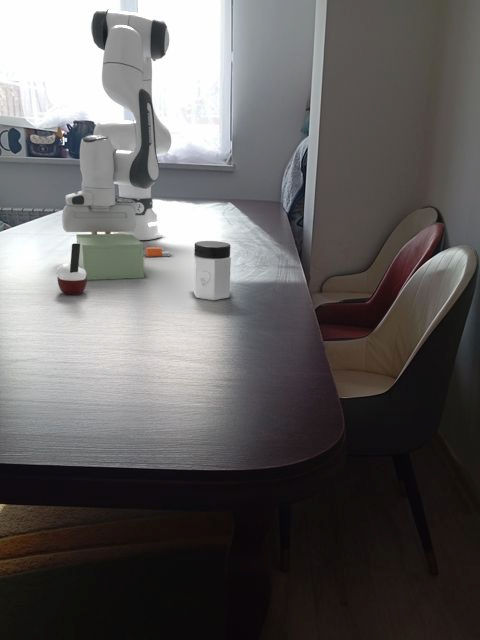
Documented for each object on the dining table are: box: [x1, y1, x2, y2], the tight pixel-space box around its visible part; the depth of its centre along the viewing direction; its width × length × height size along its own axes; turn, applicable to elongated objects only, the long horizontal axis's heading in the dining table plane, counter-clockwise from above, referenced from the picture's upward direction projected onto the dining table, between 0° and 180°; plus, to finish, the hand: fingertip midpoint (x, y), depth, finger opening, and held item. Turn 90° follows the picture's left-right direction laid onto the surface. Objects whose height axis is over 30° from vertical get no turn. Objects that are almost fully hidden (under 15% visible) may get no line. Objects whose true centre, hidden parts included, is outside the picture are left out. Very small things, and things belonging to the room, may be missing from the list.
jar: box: [193, 240, 232, 301], centre depth 118 cm, size 9×8×12 cm
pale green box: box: [75, 234, 145, 281], centre depth 134 cm, size 15×15×9 cm
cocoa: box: [56, 243, 88, 296], centre depth 113 cm, size 10×6×12 cm, turn 12°
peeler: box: [145, 246, 171, 257], centre depth 159 cm, size 7×3×2 cm, turn 114°
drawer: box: [76, 233, 126, 235], centre depth 142 cm, size 18×13×7 cm
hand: (101, 247), depth 148 cm, fingers closed
